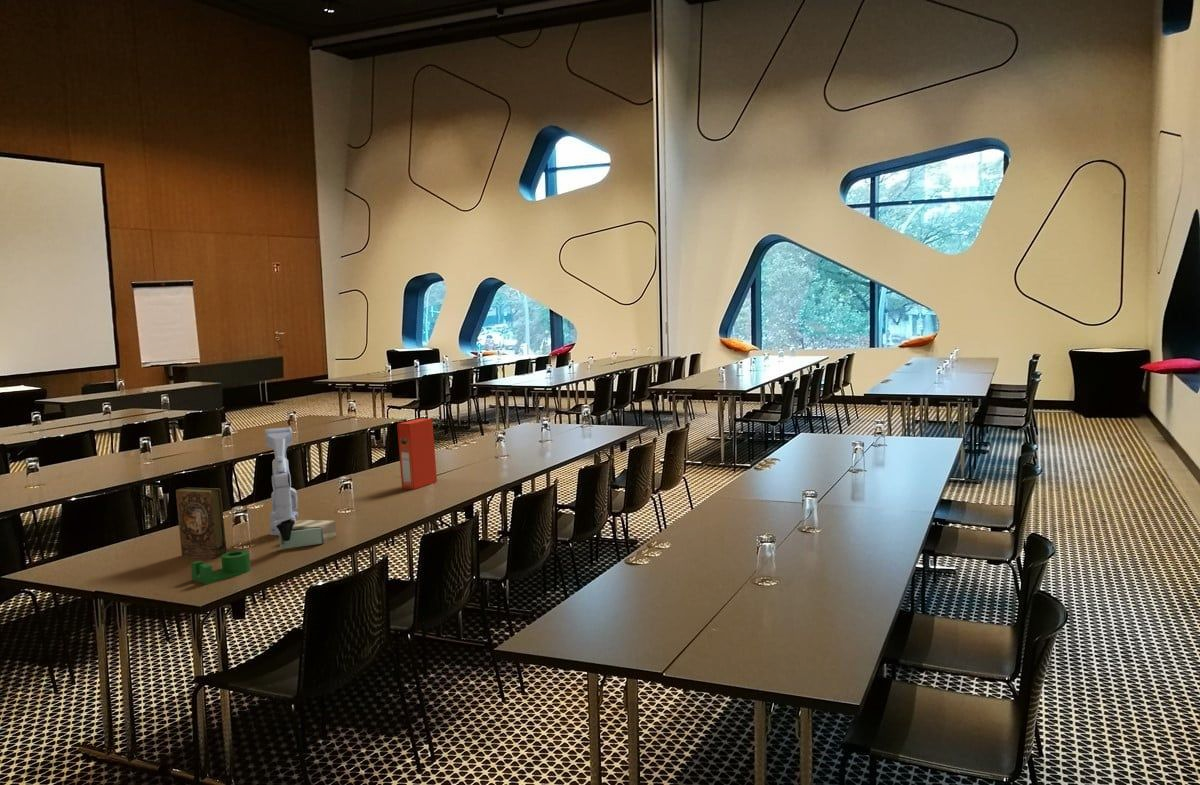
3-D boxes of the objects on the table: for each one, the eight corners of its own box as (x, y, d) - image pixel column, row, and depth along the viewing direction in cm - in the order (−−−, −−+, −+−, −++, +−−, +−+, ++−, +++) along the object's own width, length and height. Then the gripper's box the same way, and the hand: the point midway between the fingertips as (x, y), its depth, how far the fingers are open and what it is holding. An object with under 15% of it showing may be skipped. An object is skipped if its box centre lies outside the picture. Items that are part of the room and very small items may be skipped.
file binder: (401, 488, 430) (397, 423, 426) (424, 481, 445) (420, 418, 442) (414, 489, 426) (410, 424, 423) (436, 482, 442) (432, 418, 438)
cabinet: (287, 542, 342) (285, 525, 341) (300, 535, 350) (299, 519, 349) (323, 543, 337) (322, 526, 337) (336, 537, 346) (335, 520, 345)
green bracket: (241, 566, 313) (240, 548, 312) (255, 570, 308) (254, 552, 307) (192, 580, 299) (190, 562, 299) (205, 585, 294) (203, 566, 293)
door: (280, 549, 330) (278, 534, 329) (280, 548, 332) (278, 532, 331) (323, 543, 335) (322, 528, 335) (323, 542, 337) (322, 527, 337)
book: (179, 557, 328) (172, 490, 325) (190, 552, 333) (183, 487, 330) (216, 558, 323) (210, 491, 320) (227, 554, 328) (220, 488, 325)
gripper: (281, 509, 320) (284, 546, 322) (304, 500, 334) (307, 535, 335) (264, 509, 322) (267, 545, 323) (287, 499, 336) (290, 534, 337)
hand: (286, 540), depth 329 cm, fingers closed
